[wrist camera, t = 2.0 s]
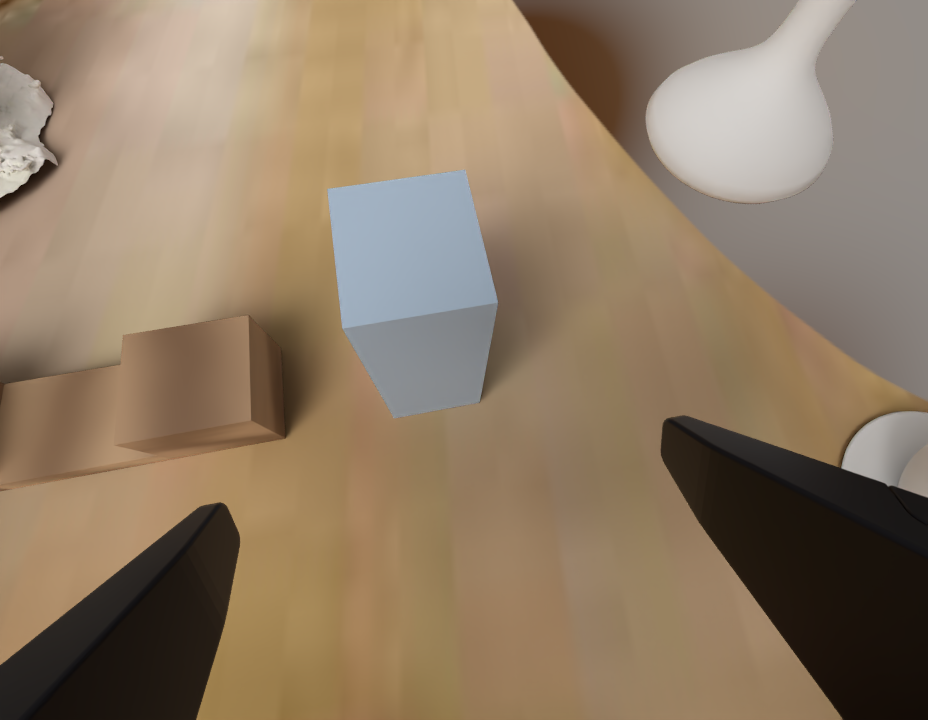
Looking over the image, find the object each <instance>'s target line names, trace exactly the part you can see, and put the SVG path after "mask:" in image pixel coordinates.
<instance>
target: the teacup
mask: <svg viewBox="0 0 928 720" xmlns="http://www.w3.org/2000/svg"><path fill="white" fill-rule="evenodd" d="M841 468H842V469H845V470H848V471H851V472H854V473H857V474H860V475H863V476H866V477H868V478H871V479H874V480H877V481H880V482H883V483H885V484H887V486H890V485H892V486H895V487H898V488H901V489H904V490H907V491H910V492H913V493H916V494H919V495H922V496H925V497H928V413H926V412H919V411H901V412H894V413H890V414H886V415H883V416H880V417H878V418H876V419H874V420H872V421H870V422H869V423H867V424H866V425H865V426H863V427H862V428H861V429H860V430H859V431H858V432H857V433H856V434H855V436H854V437H853V438H852V440H851V442H850V443H849V445H848V447H847V449H846V452H845V454H844V458H843V462H842V466H841Z"/></svg>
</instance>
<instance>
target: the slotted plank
mask: <svg viewBox="0 0 928 720" xmlns="http://www.w3.org/2000/svg"><path fill="white" fill-rule="evenodd" d="M285 438H286V435H285V416H284V397H283V377H282V358H281V348H280V347H279V346H278V345H277V344H276V343H275V342H274V340H273V339H272V338H271V337H270V336H269V335H268V334H267V333H266V332H265V331H264V330H263V329H262V328H261V327H260V326H259V325H258V324H257V323H256V322H255V321H254V320H253V319H252V318H251V317H250V316H249V315H245V316H239V317H233V318H226V319H220V320H214V321H208V322H202V323H195V324H189V325H183V326H177V327H171V328H164V329H158V330H152V331H146V332H140V333H133V334H127V335H123V341H122V353H121V365H115V366H109V367H103V368H97V369H91V370H85V371H79V372H73V373H67V374H61V375H55V376H49V377H43V378H37V379H31V380H25V381H19V382H13V383H7V384H3V383H0V491H4V490H9V489H15V488H20V487H25V486H31V485H36V484H42V483H47V482H52V481H58V480H63V479H69V478H74V477H79V476H85V475H90V474H96V473H101V472H106V471H112V470H117V469H123V468H128V467H133V466H139V465H144V464H150V463H155V462H160V461H166V460H171V459H177V458H182V457H187V456H193V455H198V454H204V453H209V452H214V451H220V450H225V449H231V448H236V447H241V446H247V445H252V444H258V443H263V442H268V441H274V440H279V439H285Z"/></svg>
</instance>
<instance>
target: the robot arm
mask: <svg viewBox="0 0 928 720" xmlns="http://www.w3.org/2000/svg"><path fill="white" fill-rule="evenodd" d="M661 456H662V459H663V462H664V464H665V465H666V467H667V469H668V471H669V472H670V474H671V476H672V477H673V479H674V481H675V482H676V484H677V486H678V488H679V489H680V491H681V493H682V494H683V496H684V498H685V500H686V501H687V503H688V505H689V506H690V508H691V510H692V511H693V513H694V515H695V516H696V518H697V520H698V521H699V523H700V524H701V526H702V527H703V529H704V530H705V531H706V533H707V534H708V536H709V537H710V538H711V540H712V541H713V542H714V544H715V545H716V547H717V548H718V549H719V551H720V552H721V553H722V555H723V556H724V557H725V559H726V560H727V562H728V563H729V564H730V566H731V567H732V568H733V570H734V571H735V572H736V574H737V575H738V577H739V578H740V579H741V581H742V582H743V583H744V585H745V586H746V587H747V589H748V590H749V592H750V593H751V594H752V596H753V597H754V598H755V600H756V601H757V602H758V604H759V605H760V607H761V608H762V609H763V611H764V612H765V613H766V615H767V616H768V617H769V619H770V620H771V622H772V623H773V624H774V626H775V627H776V628H777V630H778V631H779V632H780V634H781V635H782V637H783V638H784V639H785V641H786V642H787V643H788V645H789V646H790V647H791V649H792V650H793V652H794V653H795V654H796V656H797V657H798V658H799V660H800V661H801V662H802V664H803V665H804V667H805V668H806V669H807V671H808V672H809V673H810V675H811V676H812V677H813V679H814V680H815V682H816V683H817V684H818V686H819V687H820V688H821V690H822V691H823V692H824V694H825V695H826V697H827V698H828V699H829V701H830V702H831V703H832V705H833V706H834V707H835V709H836V710H837V712H838V713H839V714H840V716H841V717H842V718H843V720H928V497H925V496H922V495H919V494H916V493H913V492H910V491H907V490H904V489H901V488H898V487H895V486H892V485H890V486H887V484H885V483H883V482H880V481H877V480H874V479H871V478H868V477H866V476H863V475H860V474H857V473H854V472H851V471H848V470H845V469H842V468H839V467H836V466H833V465H830V464H827V463H824V462H821V461H818V460H815V459H812V458H809V457H806V456H804V455H801V454H798V453H795V452H792V451H789V450H786V449H783V448H780V447H777V446H774V445H771V444H768V443H765V442H762V441H759V440H756V439H753V438H750V437H748V436H745V435H742V434H739V433H736V432H733V431H730V430H727V429H724V428H721V427H718V426H715V425H712V424H709V423H706V422H703V421H700V420H697V419H694V418H692V417H689V416H685V415H682V416H676V417H671V418H667V419H666V420H665V421H664V422H663V427H662V439H661ZM239 548H240V536H239V532H238V530H237V527H236V525H235V523H234V521H233V519H232V516H231V514H230V512H229V510H228V508H227V506H226V505H225V504H224V503H214V504H209V505H204V506H201V507H199V508H197V509H196V510H195V511H193V512H192V513H191V514H190V515H188V516H187V517H186V518H185V519H183V520H182V521H181V522H180V523H178V524H177V525H176V526H175V527H173V528H172V529H171V530H170V531H168V532H167V533H166V534H165V535H163V536H162V537H161V538H160V539H158V540H157V541H156V542H155V543H153V544H152V545H151V546H149V547H148V548H147V549H146V550H144V551H143V552H142V553H141V554H139V555H138V556H137V557H136V558H134V559H133V560H132V561H131V562H129V563H128V564H127V565H126V566H124V567H123V568H122V569H121V570H119V571H118V572H117V573H116V574H114V575H113V576H112V577H111V578H109V579H108V580H107V581H106V582H104V583H103V584H102V585H100V586H99V587H98V588H97V589H95V590H94V591H93V592H92V593H90V594H89V595H88V596H87V597H85V598H84V599H83V600H82V601H80V602H79V603H78V604H77V605H75V606H74V607H73V608H72V609H70V610H69V611H68V612H67V613H65V614H64V615H63V616H62V617H60V618H59V619H58V620H57V621H55V622H54V623H53V624H51V625H50V626H49V627H48V628H46V629H45V630H44V631H43V632H41V633H40V634H39V635H38V636H36V637H35V638H34V639H33V640H31V641H30V642H29V643H28V644H26V645H25V646H24V647H23V648H21V649H20V650H19V651H18V652H16V653H15V654H14V655H13V656H11V657H10V658H9V659H8V660H6V661H5V662H4V663H2V664H1V665H0V720H196V718H197V715H198V711H199V708H200V705H201V702H202V698H203V695H204V692H205V688H206V685H207V682H208V678H209V675H210V672H211V668H212V665H213V662H214V658H215V655H216V652H217V648H218V645H219V642H220V639H221V635H222V631H223V628H224V624H225V620H226V615H227V611H228V606H229V600H230V595H231V590H232V584H233V579H234V574H235V569H236V563H237V558H238V553H239Z"/></svg>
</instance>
